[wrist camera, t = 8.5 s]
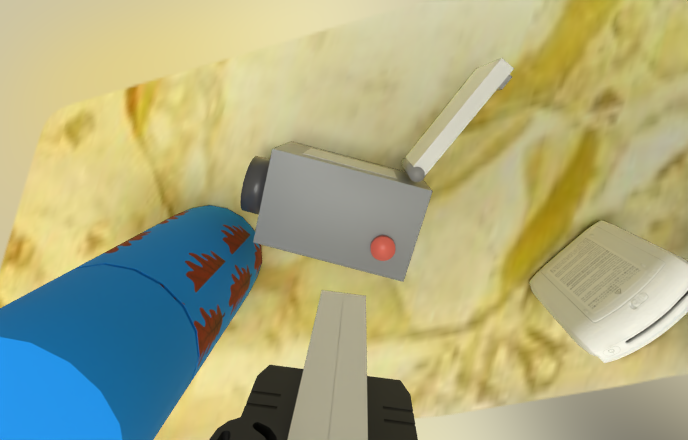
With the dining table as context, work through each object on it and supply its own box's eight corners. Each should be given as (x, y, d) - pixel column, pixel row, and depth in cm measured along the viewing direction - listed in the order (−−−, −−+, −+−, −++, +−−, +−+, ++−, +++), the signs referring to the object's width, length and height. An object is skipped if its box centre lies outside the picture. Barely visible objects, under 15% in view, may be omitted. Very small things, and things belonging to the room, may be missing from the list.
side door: (415, 176, 39) (426, 191, 32) (399, 164, 39) (406, 176, 32) (493, 81, 37) (524, 73, 29) (476, 67, 36) (503, 56, 29)
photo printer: (547, 309, 42) (618, 386, 30) (519, 283, 42) (580, 351, 30) (628, 240, 40) (740, 295, 28) (600, 212, 39) (701, 255, 27)
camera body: (419, 175, 39) (434, 191, 31) (396, 250, 41) (404, 284, 33) (271, 135, 39) (245, 142, 31) (255, 213, 41) (227, 238, 33)
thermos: (160, 289, 44) (-88, 501, 20) (166, 195, 41) (-115, 311, 17) (258, 307, 44) (126, 543, 20) (270, 214, 41) (134, 357, 17)
